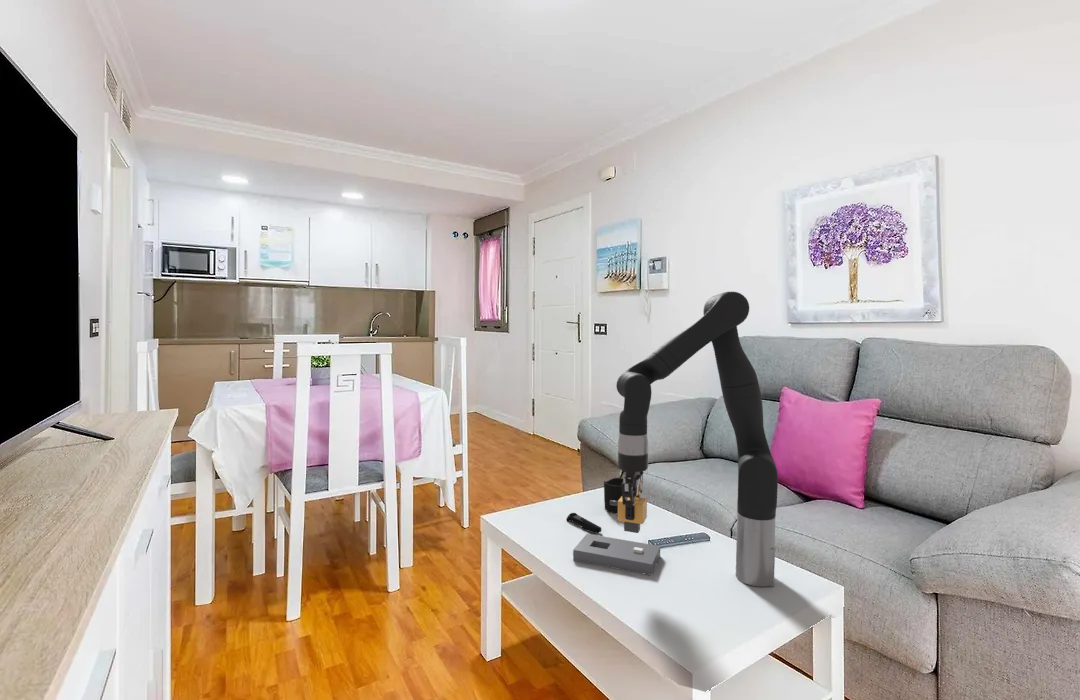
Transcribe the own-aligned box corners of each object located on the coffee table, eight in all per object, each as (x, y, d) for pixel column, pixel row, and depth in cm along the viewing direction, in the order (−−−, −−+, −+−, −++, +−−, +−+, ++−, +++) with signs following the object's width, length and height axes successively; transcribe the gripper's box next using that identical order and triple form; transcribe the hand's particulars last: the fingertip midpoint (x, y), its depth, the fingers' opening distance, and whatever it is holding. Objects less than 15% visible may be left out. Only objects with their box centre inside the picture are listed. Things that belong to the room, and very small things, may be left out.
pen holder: (632, 514, 182) (632, 486, 181) (605, 514, 181) (605, 486, 181) (627, 504, 191) (627, 477, 190) (601, 504, 191) (602, 477, 190)
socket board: (660, 556, 150) (660, 543, 149) (651, 575, 138) (651, 561, 138) (586, 543, 158) (586, 530, 158) (573, 560, 147) (573, 546, 147)
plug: (646, 528, 136) (646, 498, 135) (642, 536, 131) (642, 504, 131) (612, 523, 140) (612, 493, 139) (607, 530, 135) (607, 499, 134)
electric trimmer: (595, 538, 163) (595, 528, 163) (565, 521, 176) (565, 512, 176) (604, 535, 165) (604, 525, 165) (574, 519, 178) (574, 509, 178)
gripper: (641, 458, 126) (640, 528, 127) (653, 445, 139) (652, 508, 140) (611, 455, 129) (610, 523, 130) (625, 442, 142) (624, 504, 143)
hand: (632, 515), depth 135 cm, fingers closed on plug, 5 cm apart
